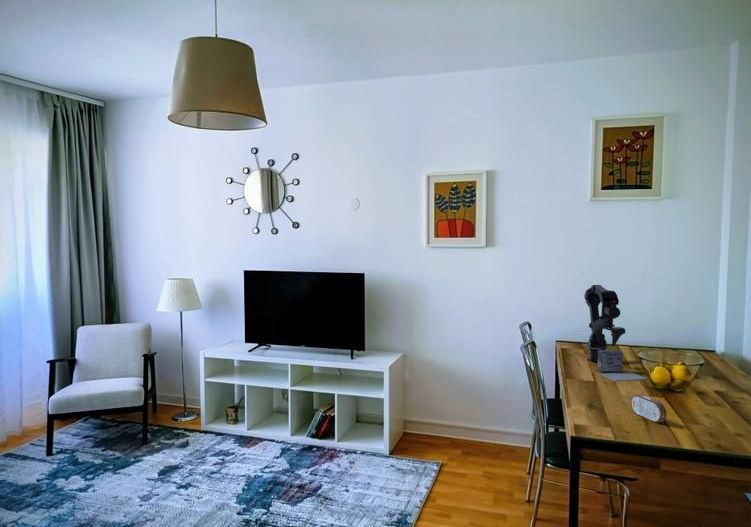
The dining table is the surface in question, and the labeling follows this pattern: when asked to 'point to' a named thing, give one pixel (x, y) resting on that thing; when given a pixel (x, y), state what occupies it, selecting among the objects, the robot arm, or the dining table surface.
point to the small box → (610, 361)
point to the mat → (623, 376)
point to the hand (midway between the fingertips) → (606, 344)
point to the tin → (648, 408)
